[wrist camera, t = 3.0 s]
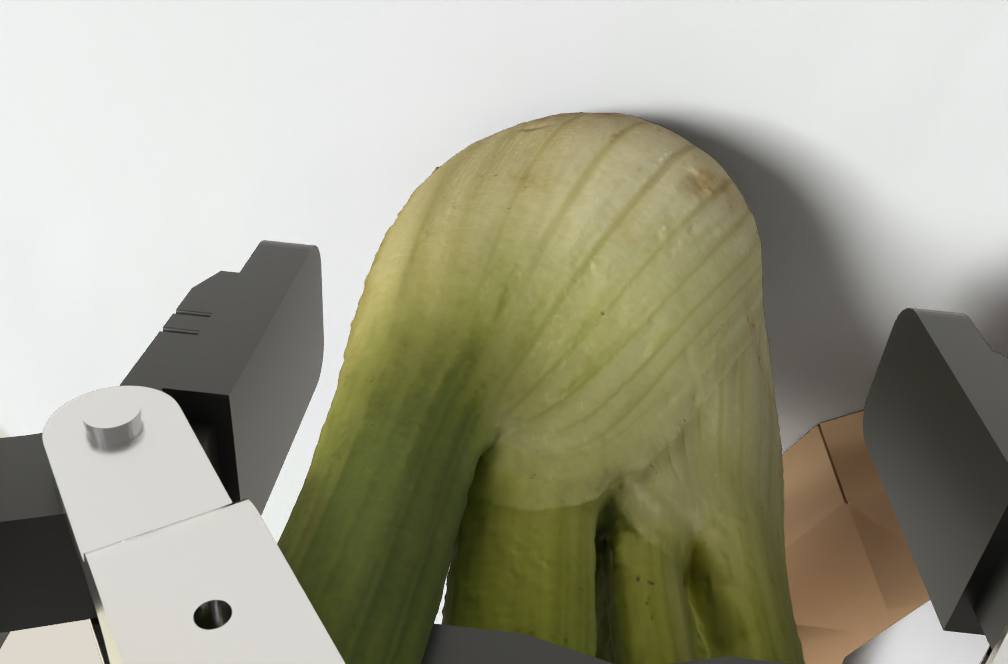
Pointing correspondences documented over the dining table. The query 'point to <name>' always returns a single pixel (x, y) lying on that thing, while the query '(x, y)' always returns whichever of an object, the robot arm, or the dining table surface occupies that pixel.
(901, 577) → the walnut ring
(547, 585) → the fennel bulb
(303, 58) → the dining table surface
